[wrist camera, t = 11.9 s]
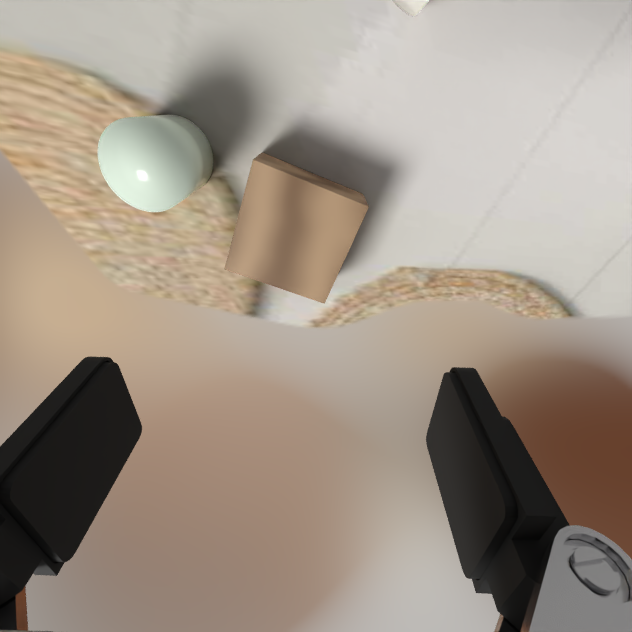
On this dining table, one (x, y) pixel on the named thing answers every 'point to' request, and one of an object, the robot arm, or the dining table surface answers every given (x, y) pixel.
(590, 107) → the dining table surface
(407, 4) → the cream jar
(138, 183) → the pale green rounded cylinder
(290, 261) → the tan box
